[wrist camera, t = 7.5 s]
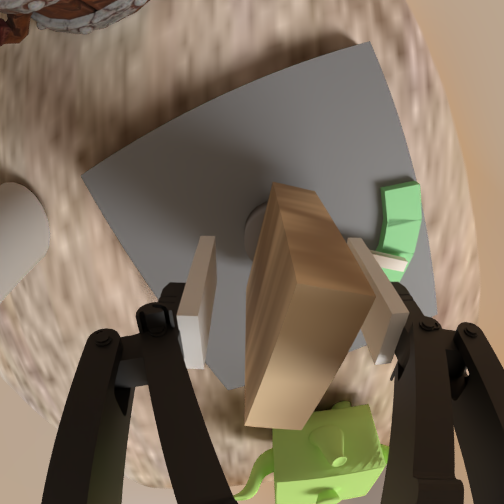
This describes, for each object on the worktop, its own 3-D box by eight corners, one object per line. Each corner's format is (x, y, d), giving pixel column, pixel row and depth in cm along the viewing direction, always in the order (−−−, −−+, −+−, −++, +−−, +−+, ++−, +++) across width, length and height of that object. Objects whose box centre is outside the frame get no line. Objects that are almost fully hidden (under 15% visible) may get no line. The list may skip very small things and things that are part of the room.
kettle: (228, 427, 35) (224, 510, 25) (316, 366, 30) (336, 467, 20) (313, 457, 39) (321, 524, 29) (395, 408, 34) (419, 483, 24)
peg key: (234, 270, 22) (224, 423, 12) (257, 170, 19) (267, 278, 8) (378, 295, 23) (441, 424, 13) (414, 211, 20) (523, 318, 10)
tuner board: (93, 168, 21) (75, 178, 18) (359, 45, 17) (374, 39, 14) (228, 374, 30) (227, 396, 27) (428, 301, 26) (441, 319, 24)
